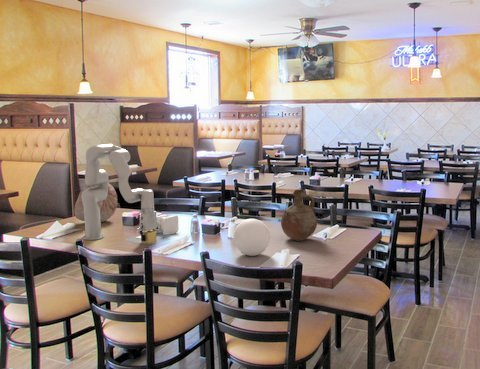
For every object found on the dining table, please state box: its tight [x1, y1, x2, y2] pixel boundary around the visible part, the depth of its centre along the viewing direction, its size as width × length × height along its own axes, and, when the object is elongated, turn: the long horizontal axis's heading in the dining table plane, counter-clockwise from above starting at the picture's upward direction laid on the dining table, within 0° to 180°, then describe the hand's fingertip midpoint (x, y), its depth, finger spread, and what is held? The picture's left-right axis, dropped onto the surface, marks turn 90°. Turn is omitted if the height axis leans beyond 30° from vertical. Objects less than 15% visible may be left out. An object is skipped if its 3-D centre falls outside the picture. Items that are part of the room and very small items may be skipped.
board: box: [124, 235, 170, 246], centre depth 310 cm, size 22×18×5 cm
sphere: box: [232, 218, 271, 257], centre depth 276 cm, size 20×20×20 cm
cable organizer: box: [152, 213, 179, 236], centre depth 328 cm, size 15×11×12 cm
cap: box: [141, 230, 157, 244], centre depth 304 cm, size 6×6×7 cm
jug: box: [280, 189, 318, 242], centre depth 308 cm, size 22×22×30 cm
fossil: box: [74, 182, 119, 223], centre depth 363 cm, size 31×26×30 cm
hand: (148, 239), depth 305 cm, fingers open, 8 cm apart
